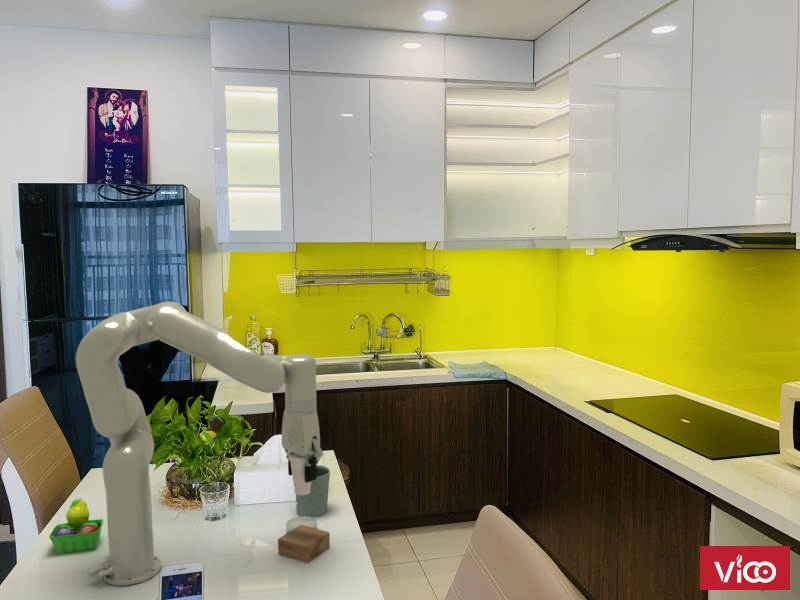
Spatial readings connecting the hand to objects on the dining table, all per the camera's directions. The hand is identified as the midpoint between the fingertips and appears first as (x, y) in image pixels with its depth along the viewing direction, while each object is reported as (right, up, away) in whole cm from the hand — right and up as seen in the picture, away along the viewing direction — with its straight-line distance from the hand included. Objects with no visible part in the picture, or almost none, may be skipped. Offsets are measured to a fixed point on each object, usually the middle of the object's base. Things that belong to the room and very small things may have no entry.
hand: (302, 476), depth 157 cm
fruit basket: (-58, -19, +5) cm, 61 cm away
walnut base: (0, -19, +2) cm, 19 cm away
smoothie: (0, -4, 0) cm, 4 cm away
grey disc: (-2, -18, +12) cm, 22 cm away
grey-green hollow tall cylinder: (-1, -17, +25) cm, 30 cm away
